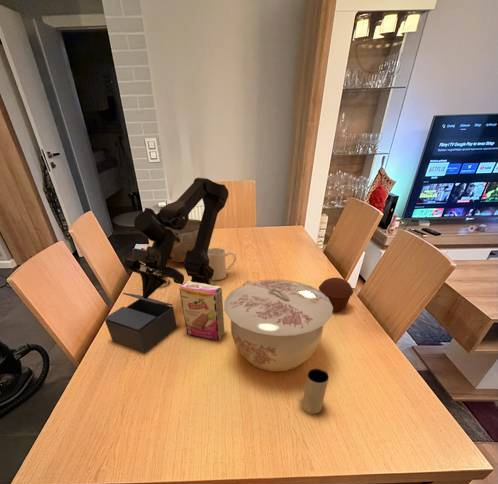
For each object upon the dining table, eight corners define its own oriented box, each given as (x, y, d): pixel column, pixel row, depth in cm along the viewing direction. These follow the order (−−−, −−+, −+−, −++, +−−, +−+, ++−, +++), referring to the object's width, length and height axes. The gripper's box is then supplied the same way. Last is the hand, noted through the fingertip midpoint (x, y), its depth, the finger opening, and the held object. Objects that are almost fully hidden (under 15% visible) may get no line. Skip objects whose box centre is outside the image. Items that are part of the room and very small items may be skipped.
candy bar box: (186, 335, 94) (178, 287, 83) (193, 326, 97) (186, 279, 87) (219, 342, 91) (214, 293, 80) (225, 333, 94) (222, 285, 84)
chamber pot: (323, 394, 74) (339, 324, 61) (216, 381, 78) (209, 312, 65) (322, 330, 95) (334, 268, 82) (237, 322, 99) (236, 261, 86)
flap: (140, 296, 96) (140, 295, 96) (172, 305, 92) (172, 304, 92) (122, 293, 90) (122, 292, 89) (156, 303, 85) (156, 302, 85)
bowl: (222, 255, 143) (220, 222, 133) (188, 274, 127) (183, 238, 118) (184, 246, 153) (180, 214, 143) (148, 262, 137) (141, 228, 127)
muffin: (309, 306, 107) (313, 280, 100) (326, 295, 113) (330, 270, 106) (339, 318, 101) (345, 291, 94) (355, 306, 107) (361, 280, 100)
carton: (146, 317, 102) (140, 295, 96) (177, 327, 97) (172, 304, 92) (112, 341, 91) (103, 318, 86) (145, 353, 87) (138, 329, 82)
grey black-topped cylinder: (300, 400, 73) (305, 369, 66) (318, 398, 73) (325, 367, 67) (304, 414, 70) (310, 383, 63) (323, 413, 70) (331, 382, 63)
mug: (207, 281, 122) (205, 255, 116) (207, 272, 128) (204, 248, 122) (237, 279, 124) (236, 254, 117) (235, 271, 130) (234, 246, 123)
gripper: (119, 230, 85) (101, 281, 85) (171, 240, 79) (152, 295, 78) (144, 248, 96) (128, 294, 95) (192, 258, 89) (175, 308, 89)
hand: (144, 297), depth 89 cm, fingers closed
